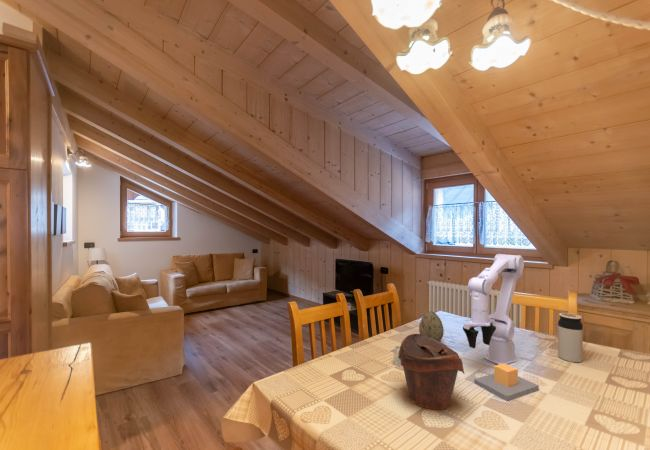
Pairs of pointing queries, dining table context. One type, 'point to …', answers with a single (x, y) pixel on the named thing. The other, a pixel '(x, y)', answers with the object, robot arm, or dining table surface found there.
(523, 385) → the plate
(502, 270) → the robot arm
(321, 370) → the dining table surface
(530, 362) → the dining table surface
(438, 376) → the brown tapered pot
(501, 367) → the light orange cube
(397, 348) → the valve
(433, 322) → the decorative egg
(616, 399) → the dining table surface
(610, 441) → the dining table surface
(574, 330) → the travel mug
